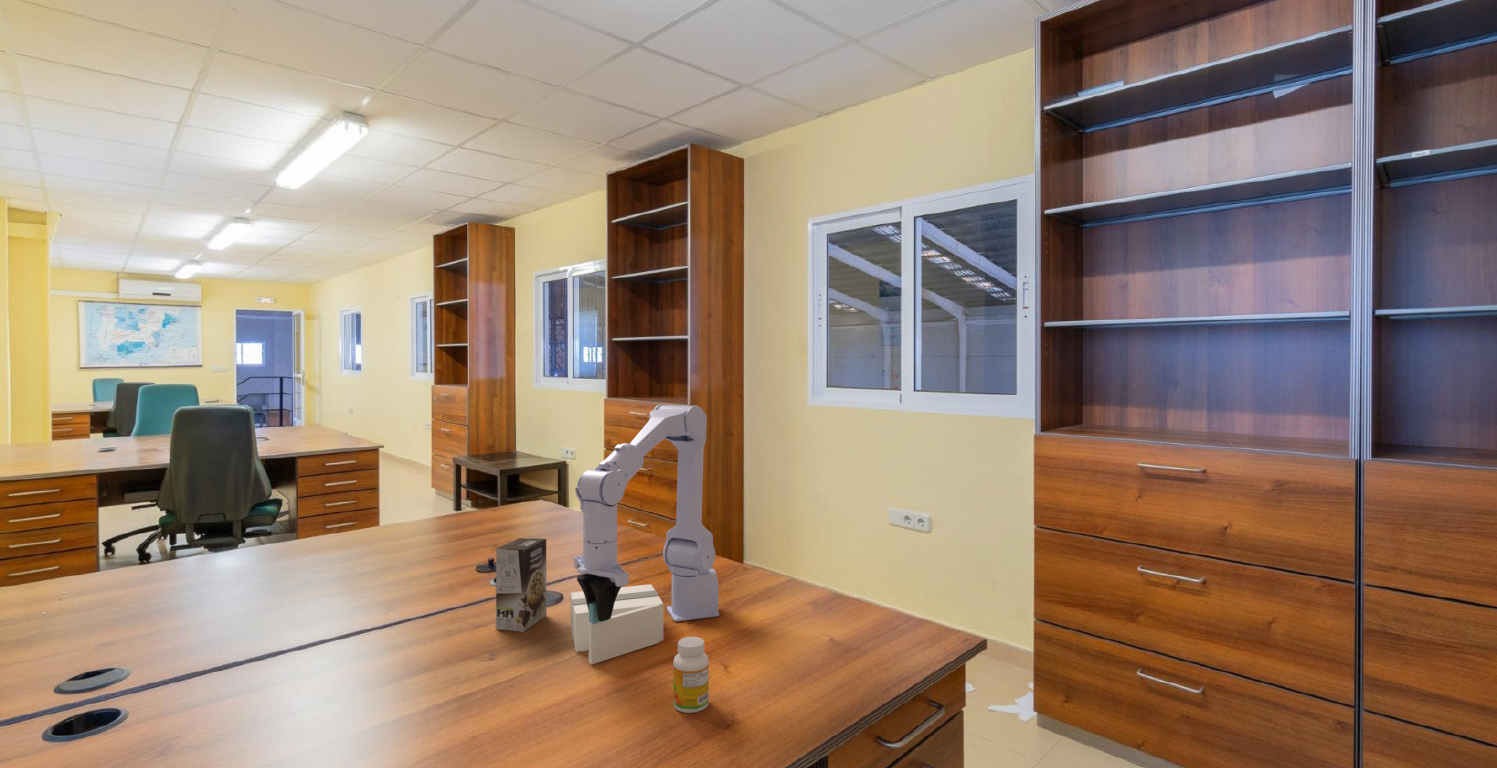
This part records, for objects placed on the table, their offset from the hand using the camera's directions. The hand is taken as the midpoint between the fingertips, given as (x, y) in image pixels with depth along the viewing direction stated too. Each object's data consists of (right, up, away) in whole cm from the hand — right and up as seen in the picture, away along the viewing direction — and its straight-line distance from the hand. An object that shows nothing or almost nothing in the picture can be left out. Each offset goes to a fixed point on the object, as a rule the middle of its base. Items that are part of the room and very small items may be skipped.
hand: (600, 617), depth 116 cm
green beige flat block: (+4, -8, +4) cm, 9 cm away
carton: (0, -8, +13) cm, 15 cm away
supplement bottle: (+17, -9, -14) cm, 24 cm away
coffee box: (-20, -8, +19) cm, 28 cm away
